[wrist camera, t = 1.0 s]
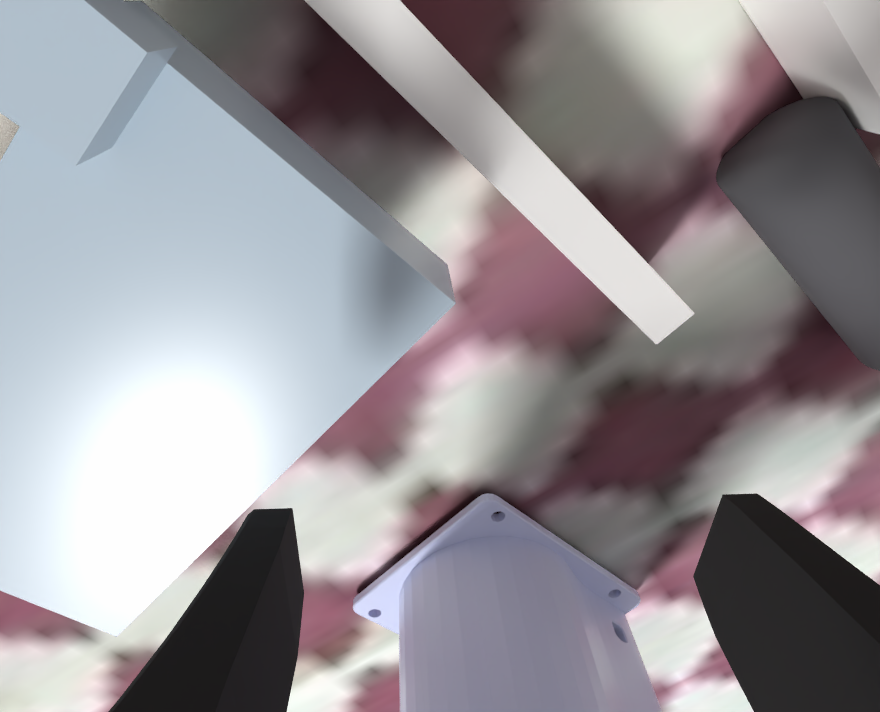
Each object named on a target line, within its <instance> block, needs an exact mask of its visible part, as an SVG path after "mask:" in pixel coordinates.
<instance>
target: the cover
mask: <svg viewBox="0 0 880 712" xmlns="http://www.w3.org/2000/svg"><path fill="white" fill-rule="evenodd" d="M0 113H1V114H3V115H4V116H6V117H7V118H8V119H10V120H11V121H13V122H14V123H15V124H17V125H18V126H20V128H19V129H18V131H17V133H16V134H15V136H14V138H13V140H12V141H11V143H10V145H9V147H8V148H7V150H6V152H5V154H4V155H3V157H2V159H1V161H0V591H3V592H5V593H8V594H10V595H13V596H15V597H18V598H21V599H23V600H26V601H28V602H31V603H33V604H36V605H38V606H41V607H43V608H46V609H48V610H51V611H53V612H56V613H58V614H61V615H63V616H66V617H68V618H71V619H73V620H76V621H78V622H81V623H83V624H86V625H89V626H91V627H94V628H96V629H99V630H101V631H104V632H106V633H109V634H111V635H114V636H116V637H117V636H118V635H119V634H120V633H121V632H122V631H123V630H124V629H125V628H126V627H127V626H128V625H129V624H130V623H131V622H132V621H133V620H134V619H135V618H136V617H137V616H138V615H139V614H140V613H141V612H142V611H144V610H145V609H146V608H147V607H148V606H149V605H150V604H151V603H152V602H153V601H154V600H155V599H156V598H157V597H158V596H159V595H160V594H161V593H162V592H163V591H164V590H165V589H166V588H167V587H168V586H169V585H170V584H171V583H172V582H173V581H174V580H175V579H176V578H177V577H178V576H179V575H180V574H181V573H182V572H183V571H184V570H185V569H186V568H187V567H188V566H189V565H190V564H191V563H192V562H193V561H194V560H195V559H196V558H197V557H198V556H199V555H200V554H201V553H202V552H203V551H204V550H206V549H207V548H208V547H209V546H210V545H211V544H212V543H213V542H214V541H215V540H216V539H217V538H218V537H219V536H220V535H221V534H222V533H223V532H224V531H225V530H226V529H227V528H228V527H229V526H230V525H231V524H232V523H233V522H234V521H235V520H236V519H237V518H238V517H239V516H240V515H241V514H242V513H243V512H244V511H245V510H246V509H247V508H248V507H249V506H250V505H251V504H252V503H253V502H254V501H255V500H256V499H257V498H258V497H259V496H260V495H261V494H262V493H263V492H264V491H265V490H266V489H268V488H269V487H270V486H271V485H272V484H273V483H274V482H275V481H276V480H277V479H278V478H279V477H280V476H281V475H282V474H283V473H284V472H285V471H286V470H287V469H288V468H289V467H290V466H291V465H292V464H293V463H294V462H295V461H296V460H297V459H298V458H299V457H300V456H301V455H302V454H303V453H304V452H305V451H306V450H307V449H308V448H309V447H310V446H311V445H312V444H313V443H314V442H315V441H316V440H317V439H318V438H319V437H320V436H321V435H322V434H323V433H324V432H325V431H326V430H327V429H328V428H330V427H331V426H332V425H333V424H334V423H335V422H336V421H337V420H338V419H339V418H340V417H341V416H342V415H343V414H344V413H345V412H346V411H347V410H348V409H349V408H350V407H351V406H352V405H353V404H354V403H355V402H356V401H357V400H358V399H359V398H360V397H361V396H362V395H363V394H364V393H365V392H366V391H367V390H368V389H369V388H370V387H371V386H372V385H373V384H374V383H375V382H376V381H377V380H378V379H379V378H380V377H381V376H382V375H383V374H384V373H385V372H386V371H387V370H388V369H389V368H390V367H392V366H393V365H394V364H395V363H396V362H397V361H398V360H399V359H400V358H401V357H402V356H403V355H404V354H405V353H406V352H407V351H408V350H409V349H410V348H411V347H412V346H413V345H414V344H415V343H416V342H417V341H418V340H419V339H420V338H421V337H422V336H423V335H424V334H425V333H426V332H427V331H428V330H429V329H430V328H431V327H432V326H433V325H434V324H435V323H436V322H437V321H438V320H439V319H440V318H441V317H442V316H443V315H444V314H445V313H446V312H447V311H448V310H449V309H450V308H451V307H452V306H454V305H455V304H456V302H455V298H454V293H453V288H452V284H451V279H450V274H449V270H448V265H447V264H446V263H445V262H444V261H443V260H441V259H440V258H439V257H438V256H437V255H436V254H434V253H433V252H432V251H431V250H430V249H429V248H427V247H426V246H425V245H424V244H423V243H422V242H420V241H419V240H418V239H417V238H416V237H415V236H414V235H412V234H411V233H410V232H409V231H408V230H407V229H405V228H404V227H403V226H402V225H401V224H400V223H398V222H397V221H396V220H395V219H394V218H393V217H392V216H390V215H389V214H388V213H387V212H386V211H385V210H383V209H382V208H381V207H380V206H379V205H378V204H376V203H375V202H374V201H373V200H372V199H371V198H370V197H368V196H367V195H366V194H365V193H364V192H363V191H361V190H360V189H359V188H358V187H357V186H356V185H354V184H353V183H352V182H351V181H350V180H349V179H348V178H346V177H345V176H344V175H343V174H342V173H341V172H339V171H338V170H337V169H336V168H335V167H334V166H332V165H331V164H330V163H329V162H328V161H327V160H325V159H324V158H323V157H322V156H321V155H320V154H319V153H317V152H316V151H315V150H314V149H313V148H312V147H310V146H309V145H308V144H307V143H306V142H305V141H303V140H302V139H301V138H300V137H299V136H298V135H297V134H295V133H294V132H293V131H292V130H291V129H290V128H288V127H287V126H286V125H285V124H284V123H283V122H281V121H280V120H279V119H278V118H277V117H276V116H275V115H273V114H272V113H271V112H270V111H269V110H268V109H266V108H265V107H264V106H263V105H262V104H261V103H259V102H258V101H257V100H256V99H255V98H254V97H252V96H251V95H250V94H249V93H248V92H247V91H246V90H244V89H243V88H242V87H241V86H240V85H239V84H237V83H236V82H235V81H234V80H233V79H232V78H230V77H229V76H228V75H227V74H226V73H225V72H224V71H222V70H221V69H220V68H219V67H218V66H217V65H215V64H214V63H213V62H212V61H211V60H210V59H208V58H207V57H206V56H205V55H204V54H203V53H202V52H200V51H199V50H198V49H197V48H196V47H195V46H193V45H192V44H191V43H190V42H189V41H188V40H186V39H185V38H184V37H183V36H182V35H181V34H179V33H178V32H177V31H176V30H175V29H174V28H173V27H171V26H170V25H169V24H168V23H167V22H166V21H164V20H163V19H162V18H161V17H160V16H159V15H157V14H156V13H155V12H154V11H153V10H152V9H151V8H149V7H148V6H147V5H146V4H145V3H144V2H142V1H123V0H0Z"/></svg>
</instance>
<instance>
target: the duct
mask: <svg viewBox="0 0 880 712" xmlns="http://www.w3.org/2000/svg"><path fill="white" fill-rule="evenodd" d="M304 1H305V2H306V3H307V4H308V5H310V6H311V7H312V8H313V9H314V10H315V11H316V12H317V13H318V14H319V15H320V16H321V17H322V18H323V19H324V20H325V21H326V22H327V23H328V24H329V25H330V26H331V27H332V28H333V29H334V30H335V31H336V32H337V33H338V34H339V35H340V36H341V37H342V38H343V39H344V40H345V41H346V42H347V43H348V44H349V45H350V46H351V47H352V48H353V49H354V50H356V51H357V52H358V53H359V54H360V55H361V56H362V57H363V58H364V59H365V60H366V61H367V62H368V63H369V64H370V65H371V66H372V67H373V68H374V69H375V70H376V71H377V72H378V73H379V74H380V75H381V76H382V77H383V78H384V79H385V80H386V81H387V82H388V83H389V84H390V85H391V86H392V87H393V88H394V89H395V90H396V91H397V92H398V93H399V94H400V95H402V96H403V97H404V98H405V99H406V100H407V101H408V102H409V103H410V104H411V105H412V106H413V107H414V108H415V109H416V110H417V111H418V112H419V113H420V114H421V115H422V116H423V117H424V118H425V119H426V120H427V121H428V122H429V123H430V124H431V125H432V126H433V127H434V128H435V129H436V130H437V131H438V132H439V133H440V134H441V135H442V136H443V137H444V138H445V139H446V140H448V141H449V142H450V143H451V144H452V145H453V146H454V147H455V148H456V149H457V150H458V151H459V152H460V153H461V154H462V155H463V156H464V157H465V158H466V159H467V160H468V161H469V162H470V163H471V164H472V165H473V166H474V167H475V168H476V169H477V170H478V171H479V172H480V173H481V174H482V175H483V176H484V177H485V178H486V179H487V180H488V181H489V182H490V183H491V184H492V185H494V186H495V187H496V188H497V189H498V190H499V191H500V192H501V193H502V194H503V195H504V196H505V197H506V198H507V199H508V200H509V201H510V202H511V203H512V204H513V205H514V206H515V207H516V208H517V209H518V210H519V211H520V212H521V213H522V214H523V215H524V216H525V217H526V218H527V219H528V220H529V221H530V222H531V223H532V224H533V225H534V226H535V227H536V228H537V229H539V230H540V231H541V232H542V233H543V234H544V235H545V236H546V237H547V238H548V239H549V240H550V241H551V242H552V243H553V244H554V245H555V246H556V247H557V248H558V249H559V250H560V251H561V252H562V253H563V254H564V255H565V256H566V257H567V258H568V259H569V260H570V261H571V262H572V263H573V264H574V265H575V266H576V267H577V268H578V269H579V270H580V271H581V272H582V273H583V274H585V275H586V276H587V277H588V278H589V279H590V280H591V281H592V282H593V283H594V284H595V285H596V286H597V287H598V288H599V289H600V290H601V291H602V292H603V293H604V294H605V295H606V296H607V297H608V298H609V299H610V300H611V301H612V302H613V303H614V304H615V305H616V306H617V307H618V308H619V309H620V310H621V311H622V312H623V313H624V314H625V315H626V316H627V317H628V318H629V319H631V320H632V321H633V322H634V323H635V324H636V325H637V326H638V327H639V328H640V329H641V330H642V331H643V332H644V333H645V334H646V335H647V336H648V337H649V338H650V339H651V340H652V341H653V342H654V343H655V344H656V345H657V344H658V343H659V342H661V341H662V340H663V339H664V338H666V337H667V336H668V335H669V334H670V333H672V332H673V331H674V330H675V329H677V328H678V327H679V326H680V325H681V324H683V323H684V322H685V321H686V320H688V319H689V318H690V317H691V316H692V315H694V314H695V313H694V312H693V311H692V310H691V309H690V308H689V307H688V306H687V305H686V303H685V302H684V301H683V300H682V299H681V298H680V297H679V296H678V295H677V294H676V293H675V292H674V291H673V290H672V289H671V288H670V286H669V285H668V284H667V283H666V282H665V281H664V280H663V279H662V278H661V277H660V276H659V275H658V274H657V273H656V272H655V271H654V269H653V268H652V267H651V266H650V265H649V264H648V263H647V262H646V261H645V260H644V259H643V258H642V257H641V256H640V255H639V254H638V253H637V251H636V250H635V249H634V248H633V247H632V246H631V245H630V244H629V243H628V242H627V241H626V240H625V239H624V238H623V237H622V236H621V234H620V233H619V232H618V231H617V230H616V229H615V228H614V227H613V226H612V225H611V224H610V223H609V222H608V221H607V220H606V219H605V218H604V216H603V215H602V214H601V213H600V212H599V211H598V210H597V209H596V208H595V207H594V206H593V205H592V204H591V203H590V202H589V201H588V199H587V198H586V197H585V196H584V195H583V194H582V193H581V192H580V191H579V190H578V189H577V188H576V187H575V186H574V185H573V184H572V182H571V181H570V180H569V179H568V178H567V177H566V176H565V175H564V174H563V173H562V172H561V171H560V170H559V169H558V168H557V167H556V166H555V164H554V163H553V162H552V161H551V160H550V159H549V158H548V157H547V156H546V155H545V154H544V153H543V152H542V151H541V150H540V149H539V147H538V146H537V145H536V144H535V143H534V142H533V141H532V140H531V139H530V138H529V137H528V136H527V135H526V134H525V133H524V132H523V130H522V129H521V128H520V127H519V126H518V125H517V124H516V123H515V122H514V121H513V120H512V119H511V118H510V117H509V116H508V115H507V114H506V112H505V111H504V110H503V109H502V108H501V107H500V106H499V105H498V104H497V103H496V102H495V101H494V100H493V99H492V98H491V97H490V95H489V94H488V93H487V92H486V91H485V90H484V89H483V88H482V87H481V86H480V85H479V84H478V83H477V82H476V81H475V80H474V78H473V77H472V76H471V75H470V74H469V73H468V72H467V71H466V70H465V69H464V68H463V67H462V66H461V65H460V64H459V63H458V62H457V60H456V59H455V58H454V57H453V56H452V55H451V54H450V53H449V52H448V51H447V50H446V49H445V48H444V47H443V46H442V45H441V43H440V42H439V41H438V40H437V39H436V38H435V37H434V36H433V35H432V34H431V33H430V32H429V31H428V30H427V29H426V28H425V27H424V25H423V24H422V23H421V22H420V21H419V20H418V19H417V18H416V17H415V16H414V15H413V14H412V13H411V12H410V11H409V10H408V8H407V7H406V6H405V5H404V4H403V3H402V2H401V1H400V0H304ZM739 2H740V3H741V5H742V6H743V8H744V9H745V11H746V13H747V14H748V16H749V17H750V19H751V20H752V22H753V23H754V25H755V26H756V28H757V29H758V31H759V32H760V34H761V35H762V37H763V38H764V40H765V41H766V43H767V44H768V46H769V47H770V49H771V50H772V52H773V53H774V55H775V56H776V58H777V60H778V61H779V63H780V64H781V66H782V67H783V69H784V70H785V72H786V73H787V75H788V76H789V78H790V79H791V81H792V82H793V84H794V85H795V87H796V88H797V90H798V91H799V93H800V94H801V96H802V97H803V99H806V98H811V97H829V98H832V99H834V100H836V101H837V102H838V103H839V105H840V106H841V108H842V109H843V111H844V112H845V114H846V116H847V117H848V119H849V120H850V122H851V123H852V125H853V127H854V128H857V129H861V130H865V131H869V132H872V133H876V134H880V0H739Z"/></svg>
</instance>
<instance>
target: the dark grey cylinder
mask: <svg viewBox="0 0 880 712" xmlns="http://www.w3.org/2000/svg"><path fill="white" fill-rule="evenodd" d="M716 180H717V184H718V186H719V187H720V188H721V189H722V191H723V192H724V193H725V194H726V196H727V197H728V198H729V199H730V201H731V202H732V203H733V204H734V205H735V207H736V208H737V209H738V210H739V212H740V213H741V214H742V215H743V217H744V218H745V219H746V220H747V222H748V223H749V224H750V225H751V227H752V228H753V229H754V230H755V232H756V233H757V234H758V235H759V237H760V238H761V239H762V240H763V242H764V243H765V244H766V245H767V246H768V248H769V249H770V250H771V251H772V253H773V254H774V255H775V256H776V258H777V259H778V260H779V261H780V263H781V264H782V265H783V266H784V268H785V269H786V270H787V271H788V273H789V274H790V275H791V276H792V278H793V279H794V280H795V281H796V283H797V284H798V285H799V286H800V288H801V289H802V290H803V291H804V292H805V294H806V295H807V296H808V297H809V299H810V300H811V301H812V302H813V304H814V305H815V306H816V307H817V309H818V310H819V311H820V312H821V314H822V315H823V316H824V317H825V319H826V320H827V321H828V322H829V324H830V325H831V326H832V327H833V329H834V330H835V331H836V332H837V334H838V335H839V336H840V337H841V338H842V340H843V341H844V342H845V343H846V345H847V346H848V347H849V348H850V350H851V351H852V352H853V353H854V355H855V356H856V357H857V358H858V360H859V361H861V362H862V363H863V364H865V365H866V366H868V367H870V368H873V369H876V370H879V371H880V168H879V166H878V164H877V163H876V161H875V160H874V158H873V157H872V155H871V153H870V152H869V150H868V149H867V147H866V146H865V144H864V142H863V141H862V139H861V138H860V136H859V134H858V133H857V131H856V130H855V128H854V127H853V125H852V123H851V122H850V120H849V119H848V117H847V116H846V114H845V112H844V111H843V109H842V108H841V106H840V105H839V103H838V102H837V101H836V100H834V99H832V98H829V97H811V98H806V99H803V100H799V101H796V102H794V103H791V104H789V105H786V106H784V107H782V108H780V109H778V110H776V111H775V112H773V113H771V114H769V115H768V116H767V117H765V118H764V119H763V120H762V121H761V122H760V123H759V124H758V125H757V126H756V127H754V128H753V129H752V130H751V131H750V132H749V133H748V134H747V135H746V136H745V137H743V138H742V139H741V140H740V141H739V142H738V143H737V144H736V145H735V146H734V147H732V148H731V149H730V150H729V151H728V152H727V153H726V154H725V155H724V157H723V159H722V160H721V162H720V164H719V167H718V170H717V174H716Z"/></svg>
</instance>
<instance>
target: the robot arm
mask: <svg viewBox="0 0 880 712" xmlns="http://www.w3.org/2000/svg"><path fill="white" fill-rule="evenodd" d="M499 511H501V512H500V513H498V514H494V513H495V512H499ZM693 577H694V580H695V583H696V585H697V588H698V591H699V594H700V597H701V600H702V602H703V605H704V608H705V611H706V613H707V616H708V618H709V621H710V623H711V626H712V629H713V631H714V634H715V636H716V638H717V640H718V642H719V644H720V646H721V648H722V650H723V652H724V654H725V656H726V658H727V660H728V662H729V664H730V666H731V668H732V670H733V672H734V674H735V676H736V678H737V680H738V682H739V684H740V686H741V688H742V690H743V691H744V693H745V695H746V697H747V699H748V701H749V703H750V705H751V707H752V709H753V711H754V712H880V585H879V584H877V583H876V582H875V581H873V580H872V579H871V578H869V577H868V576H866V575H865V574H864V573H863V572H861V571H860V570H859V569H857V568H856V567H855V566H853V565H852V564H851V563H849V562H848V561H847V560H845V559H844V558H843V557H841V556H840V555H839V554H837V553H836V552H835V551H834V550H832V549H831V548H830V547H828V546H827V545H826V544H824V543H823V542H822V541H820V540H819V539H818V538H816V537H815V536H814V535H813V534H811V533H810V532H809V531H807V530H806V529H805V528H803V527H802V526H801V525H799V524H798V523H797V522H795V521H794V520H793V519H792V518H790V517H789V516H787V515H786V514H785V513H783V512H782V511H781V510H779V509H778V508H777V507H775V506H774V505H773V504H771V503H770V502H768V501H767V500H766V499H764V498H763V497H761V496H760V495H758V494H731V495H722V498H721V501H720V504H719V506H718V509H717V512H716V515H715V518H714V520H713V523H712V526H711V529H710V532H709V534H708V537H707V540H706V543H705V545H704V548H703V551H702V554H701V557H700V559H699V562H698V565H697V568H696V570H695V573H694V576H693ZM303 597H304V590H303V583H302V575H301V568H300V561H299V553H298V546H297V539H296V531H295V524H294V517H293V510H292V508H287V509H255V510H253V511H252V512H251V513H249V514H248V515H247V517H246V519H245V520H244V522H243V524H242V526H241V527H240V529H239V531H238V532H237V534H236V536H235V537H234V539H233V540H232V542H231V544H230V545H229V547H228V549H227V550H226V552H225V553H224V555H223V556H222V558H221V560H220V561H219V563H218V564H217V566H216V567H215V569H214V570H213V572H212V573H211V575H210V576H209V578H208V579H207V581H206V582H205V584H204V585H203V587H202V588H201V590H200V591H199V593H198V594H197V595H196V597H195V598H194V600H193V601H192V603H191V604H190V605H189V607H188V608H187V610H186V611H185V612H184V614H183V615H182V617H181V618H180V620H179V621H178V622H177V624H176V625H175V627H174V628H173V630H172V631H171V632H170V634H169V635H168V636H167V638H166V639H165V640H164V642H163V643H162V644H161V646H160V647H159V648H158V650H157V651H156V652H155V653H154V655H153V656H152V657H151V659H150V660H149V661H148V662H147V664H146V665H145V666H144V668H143V669H142V670H141V672H140V673H139V674H138V675H137V677H136V678H135V679H134V681H133V682H132V683H131V684H130V686H129V687H128V688H127V690H126V691H125V692H124V693H123V695H122V696H121V697H120V698H119V700H118V701H117V702H116V703H115V705H114V706H113V707H112V708H111V709H110V711H109V712H286V711H287V706H288V701H289V696H290V691H291V686H292V681H293V677H294V672H295V667H296V661H297V656H298V647H299V638H300V628H301V618H302V607H303ZM639 603H640V597H639V594H638V592H637V591H636V590H635V589H634V588H632V587H631V586H629V585H628V584H626V583H625V582H623V581H622V580H620V579H619V578H617V577H616V576H614V575H613V574H612V573H610V572H609V571H607V570H606V569H604V568H603V567H601V566H600V565H598V564H597V563H595V562H594V561H592V560H591V559H589V558H588V557H587V556H585V555H584V554H582V553H581V552H579V551H578V550H576V549H575V548H573V547H572V546H570V545H569V544H567V543H566V542H564V541H563V540H562V539H560V538H559V537H557V536H556V535H554V534H553V533H551V532H550V531H548V530H547V529H545V528H544V527H542V526H541V525H540V524H538V523H537V522H535V521H534V520H532V519H531V518H529V517H528V516H526V515H525V514H523V513H522V512H520V511H519V510H517V509H516V508H515V507H513V506H512V505H510V504H509V503H507V502H506V501H504V500H503V499H501V498H500V497H498V496H497V495H494V494H489V493H487V494H483V495H481V496H479V497H477V498H476V499H475V500H474V501H472V502H471V503H470V504H469V505H467V506H466V507H465V508H464V509H463V510H461V511H460V512H459V513H458V514H456V515H455V516H454V517H453V518H451V519H450V520H449V521H448V522H447V523H445V524H444V525H443V526H442V527H440V528H439V529H438V530H437V531H435V532H434V533H433V534H432V535H431V536H429V537H428V538H427V539H426V540H424V541H423V542H422V543H421V544H419V545H418V546H417V547H416V548H415V549H413V550H412V551H411V552H410V553H408V554H407V555H406V556H405V557H403V558H402V559H401V560H400V561H399V562H397V563H396V564H395V565H394V566H392V567H391V568H390V569H389V570H387V571H386V572H385V573H384V574H383V575H381V576H380V577H379V578H378V579H376V580H375V581H374V582H373V583H371V584H370V585H369V586H368V587H367V588H365V589H364V590H363V591H362V592H360V593H359V594H358V595H357V596H356V597H355V598H354V600H353V610H354V612H356V613H357V614H359V615H361V616H363V617H365V618H367V619H369V620H371V621H373V622H375V623H377V624H379V625H381V626H383V627H385V628H387V629H389V630H391V631H393V632H395V633H397V634H399V672H400V712H662V710H661V708H660V705H659V702H658V700H657V697H656V695H655V692H654V689H653V687H652V684H651V681H650V679H649V676H648V674H647V671H646V668H645V666H644V663H643V661H642V658H641V655H640V653H639V650H638V648H637V645H636V642H635V640H634V637H633V635H632V632H631V629H630V627H629V624H628V621H627V619H626V616H625V614H626V613H628V612H629V611H631V610H632V609H634V608H636V607H637V606H638V605H639Z"/></svg>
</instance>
